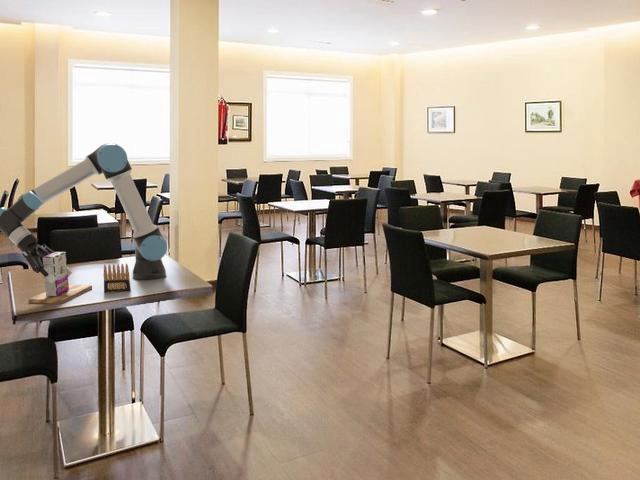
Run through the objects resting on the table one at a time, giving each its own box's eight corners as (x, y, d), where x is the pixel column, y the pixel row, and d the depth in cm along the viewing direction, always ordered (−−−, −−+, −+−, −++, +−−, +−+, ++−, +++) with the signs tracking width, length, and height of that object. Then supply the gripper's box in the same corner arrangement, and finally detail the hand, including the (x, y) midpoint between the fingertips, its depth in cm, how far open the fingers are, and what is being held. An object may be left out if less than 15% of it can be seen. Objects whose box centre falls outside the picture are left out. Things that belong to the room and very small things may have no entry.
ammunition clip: (130, 290, 260) (129, 262, 258) (130, 291, 258) (128, 263, 256) (104, 291, 258) (102, 263, 256) (104, 292, 257) (102, 264, 255)
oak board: (92, 288, 263) (91, 285, 263) (62, 303, 240) (61, 299, 239) (61, 288, 265) (61, 284, 265) (29, 302, 241) (28, 298, 241)
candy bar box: (57, 290, 254) (54, 251, 252) (69, 290, 254) (66, 251, 252) (44, 296, 243) (41, 256, 241) (57, 296, 243) (54, 256, 241)
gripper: (35, 241, 259) (72, 277, 260) (0, 251, 236) (40, 291, 237) (46, 229, 258) (83, 265, 258) (11, 238, 235) (52, 278, 235)
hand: (62, 277), depth 248 cm, fingers closed on candy bar box, 11 cm apart
